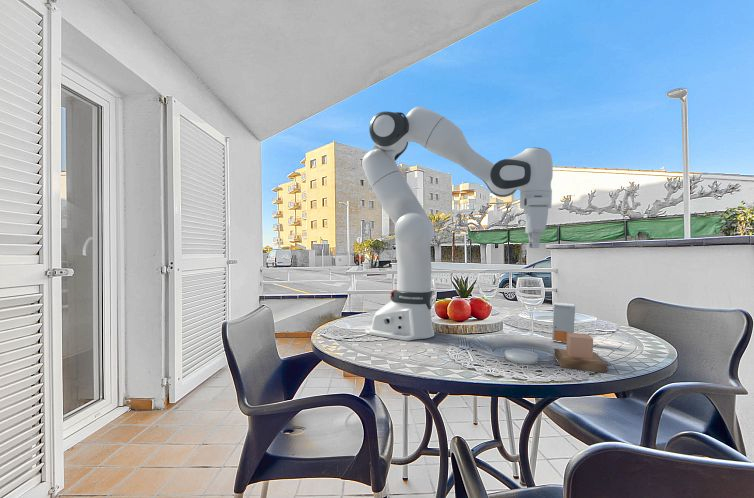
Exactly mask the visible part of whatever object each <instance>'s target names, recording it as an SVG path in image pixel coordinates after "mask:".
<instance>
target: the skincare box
mask: <svg viewBox="0 0 754 498" xmlns="http://www.w3.org/2000/svg"><path fill="white" fill-rule="evenodd" d="M552 311H553V313H552V333H551V341H552V340H556V341H561V342H565V343H567V332H568V333H575V316H576V304H575V303H565V302H553V310H552Z"/></svg>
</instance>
